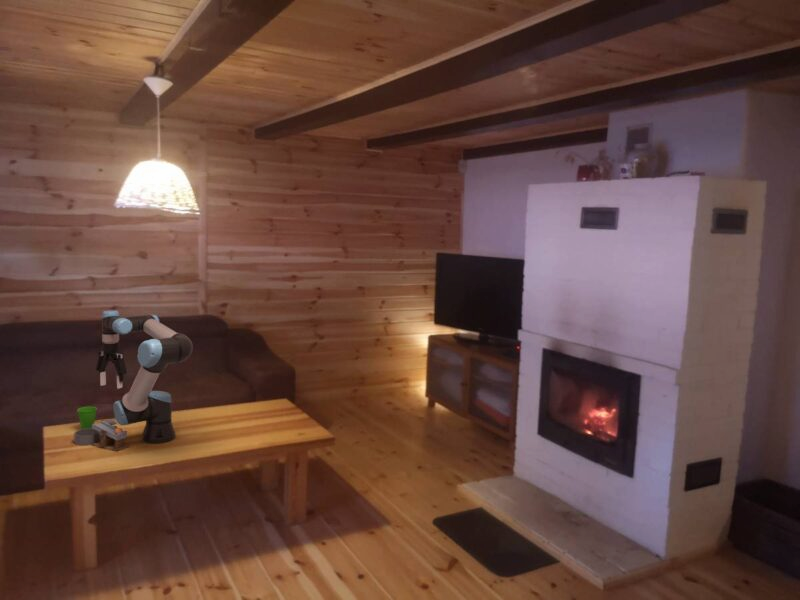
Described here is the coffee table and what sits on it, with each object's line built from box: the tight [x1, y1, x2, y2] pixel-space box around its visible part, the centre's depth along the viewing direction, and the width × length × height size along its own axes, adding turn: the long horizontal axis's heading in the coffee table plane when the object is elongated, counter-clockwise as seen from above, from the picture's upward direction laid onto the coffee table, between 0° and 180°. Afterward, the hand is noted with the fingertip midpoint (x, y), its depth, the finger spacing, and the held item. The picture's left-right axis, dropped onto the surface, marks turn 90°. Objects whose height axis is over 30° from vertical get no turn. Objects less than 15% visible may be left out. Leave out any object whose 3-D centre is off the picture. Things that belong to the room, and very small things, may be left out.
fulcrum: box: [90, 425, 130, 453], centre depth 295 cm, size 16×9×9 cm, turn 68°
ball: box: [115, 427, 124, 435], centre depth 293 cm, size 4×4×4 cm
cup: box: [76, 406, 98, 430], centre depth 315 cm, size 9×9×11 cm
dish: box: [73, 428, 101, 446], centre depth 300 cm, size 11×11×4 cm
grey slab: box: [92, 419, 128, 441], centre depth 297 cm, size 16×12×3 cm
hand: (111, 386), depth 310 cm, fingers open, 10 cm apart
